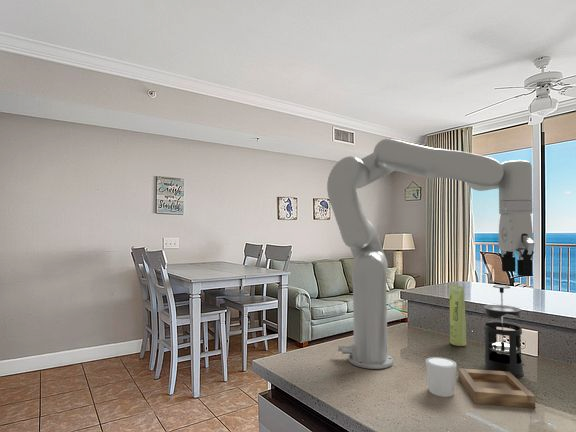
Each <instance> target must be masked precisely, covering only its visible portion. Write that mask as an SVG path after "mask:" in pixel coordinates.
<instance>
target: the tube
mask: <svg viewBox="0 0 576 432" xmlns="http://www.w3.org/2000/svg"><path fill="white" fill-rule="evenodd" d="M464 289H465V287H464V286H461V285H455V284H451V283H449V340H450V341H449V342H450V344H451V345H453V346H457V347H465V346H467V323H466V305H465V301H466V300H465V290H464Z"/></svg>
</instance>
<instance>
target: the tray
mask: <svg viewBox="0 0 576 432" xmlns="http://www.w3.org/2000/svg"><path fill="white" fill-rule="evenodd" d="M458 379H459V381H460V383H461V384H462V386H463V388H465V390H466V391H467V393H468V395H469V396H470V398H471V400H472V401H473V403H474V404H478V405H479V404H480V405H493V406H504V407H518V408H529V409H536V396H535V395H534V393H532V392H531V391H530V390H529V388H527V387H526V386H525V385H524V384H523V383H522V382H521V381H520V380H519V379H518V377H517V378H516V377H515V376H514V375H512V374H511V373H510V372H508V371H492V370H485V369H473V368H458Z"/></svg>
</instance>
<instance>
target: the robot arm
mask: <svg viewBox="0 0 576 432" xmlns="http://www.w3.org/2000/svg"><path fill="white" fill-rule="evenodd" d="M395 171H396V172H401V173H403V174H408V175H413V176H416V177H420V178H425V179H439V178H440V179H450V180H454V181H455V180H456V181H460V182H465V183H466V184H467V186H468V187H469V188H471V190H472V189H473V190H475V191H479V192H482V191H484V192H485V191H489V190H490V191H491V190H497V189H498V213H499V223H498V239H497V240H498V248H499V250H500V251H501V255H500V256H501V271H502V272H504V273H505V272H506V273H507V272H508V273H514V272H516V266H517V273H516V274H517V276H518V277H533V276H534V275H533V273H534V272H533V260H534V256H533V254H534V253H535V251H534V248H535V242H534V239H533V238H534V235H533V222H532V215H531V214H533V209H534V208H533V206H534V205H533V203H534V202H533V166H532V164H531V162H530V161H528V160H523V159H522V160H521V159H518V160H517V159H515V160H509V161H508V160H507V161H504V162H502V163H500V161H498V160H497V159H494V158H492V157H489V156H485V155H481V154H476V153H472V152H466V151H461V150H453V149H444V148H434V147H430V146H425V145H420V144H416V143H412V142H407V141H402V140H400V139H399V140H398V139H393V138H384V139H381V140H380V141H378V142H377V144H376V145H375V146H374V148H373V152H372V153H370V154H368V155H366V156H365V157H363V158H358V157H356V156H351V155H350V156H345V157H343V158H341V159H339V160H338V161H337V162H336V164H335V165H334V166H333V167H332V169H331V170H330V173H329V175H328V177H327V183H326V186H327V187H326V189H327V190H326V191H327V197H328V200H329V203H330V207H331V209H332V212H333V215H334V218H335V221H336V224H337V226H338V229H339V231H340V232H339V233H340V235H341V239H342V242H343V243H344V244H345V246H347V247H348V248H349V249H350V251H351V254H352V256H353V259H354V261H353V263H352V266H351V267H352V268H351V279H352V281H351V283H352V302H353V305H352V306H353V309H352V310H353V313H352V314H353V341H352V344H351V343H350V344H349V345H345V344H338V352H341V353H342V355H343V354H344V355H345V354H348V362H349V363H351V364H352V365H354V366H356V367H359V368H362V369H363V368H364V369H369V370H370V369H371V370H372V369H374V370H378V369H379V370H381V369H387V368H390V367H391V366H392V365H393V364H394V359H393V356H391V355H390V354H388V308H387V303H388V300H387V297H388V296H387V272H388V268H389V265H388V264H389V263H388V260H387V258H386V253H385V252H384V249H383V246H382V244H381V241H380V238H379V236H378V234H377V230H376V229H375V227H374V225H373V224H372V222H371V221H369V220H368V219H367V217H366V215H365V211H364V209H363V206H362V204H361V201H360V198H359V196H358V193H357V189H362V188H364V187H366V186H369V185H371V184H373V183H374V182H376V181H378V180H380V179H382V178H384V177H385V176H388V175H390V174H392V173H394V172H395ZM515 253H516V255H517V257H518V259H517V262H516V256H515Z"/></svg>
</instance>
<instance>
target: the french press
mask: <svg viewBox="0 0 576 432" xmlns="http://www.w3.org/2000/svg"><path fill="white" fill-rule="evenodd" d="M492 287H493V288H495V289H496V288H497V289H499V293H500V304H487V305H484V306H483V309H484V311H485V316H487V317H489V318H493V319H499V318H501V321H490V320H489V321H488V320H487V321H486V322H484V323H483V330H484V364H483V370H492V371H508V372H510V373H511V374H512V375H514V376H515V377H516V378H517V379H518V378H521V377H523V376H524V375H525V372H524V369H523V368H524V365H523V364H524V363H523V359H522V346H521V345H522V343H521V342H522V340H521V338H522V337H521V335H522V334H523V327H521V326H519V325H517V324H515V323H514V324H513V323H509V322H508V323H507V322H504V316H505V315H511V316H515V317H518V318H521V317H520V316H521V315H520V313H522V309H521V308H520V307H515V306H511V305H504V303H503V300H504V299H503V294H505V293H504V291H505V290H504V289H511V286H509V285H505V284H494V285H493V286H492ZM497 328H498V329H497ZM499 328H501V329H499ZM504 328H505V329H506V330H505V329H504ZM507 329H511V330H507ZM497 335H499V336H501V341H500V342H499V341H498V338H497ZM504 336H506V337H507V336H508V341H509V343H507V342H504Z"/></svg>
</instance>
